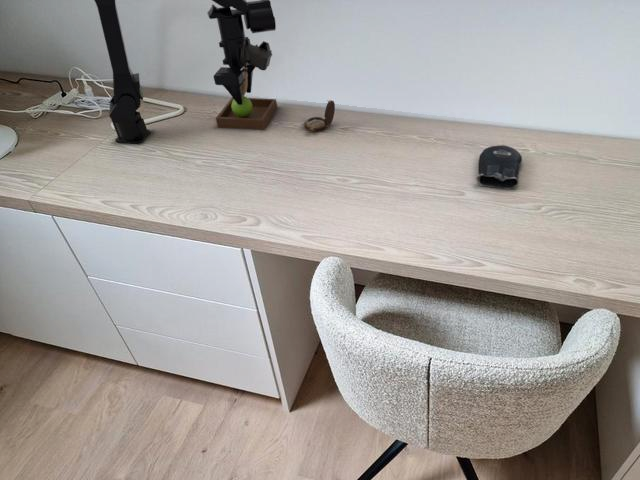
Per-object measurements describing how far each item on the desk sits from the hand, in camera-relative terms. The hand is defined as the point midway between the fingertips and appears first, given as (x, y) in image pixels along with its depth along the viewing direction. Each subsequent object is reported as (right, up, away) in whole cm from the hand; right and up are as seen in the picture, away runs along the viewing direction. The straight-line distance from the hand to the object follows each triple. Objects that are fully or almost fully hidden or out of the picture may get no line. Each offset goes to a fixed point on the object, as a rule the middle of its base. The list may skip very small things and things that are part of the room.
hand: (244, 98), depth 129 cm
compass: (+19, -8, -1) cm, 21 cm away
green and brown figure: (-1, -4, +3) cm, 5 cm away
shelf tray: (0, -4, +4) cm, 5 cm away
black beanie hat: (+62, -23, -17) cm, 68 cm away
